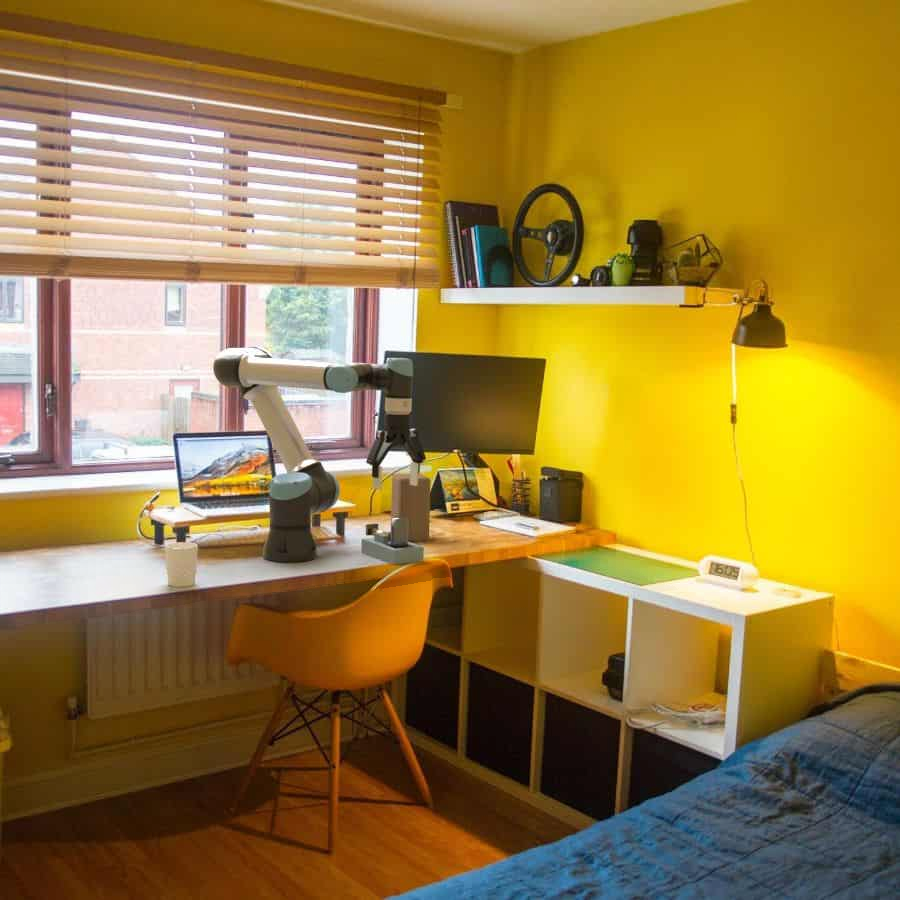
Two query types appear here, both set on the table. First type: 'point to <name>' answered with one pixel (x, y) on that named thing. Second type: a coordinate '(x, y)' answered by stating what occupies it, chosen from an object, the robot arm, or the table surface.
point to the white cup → (181, 563)
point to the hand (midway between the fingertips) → (395, 487)
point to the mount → (391, 550)
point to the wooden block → (412, 504)
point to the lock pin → (375, 530)
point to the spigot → (399, 532)
